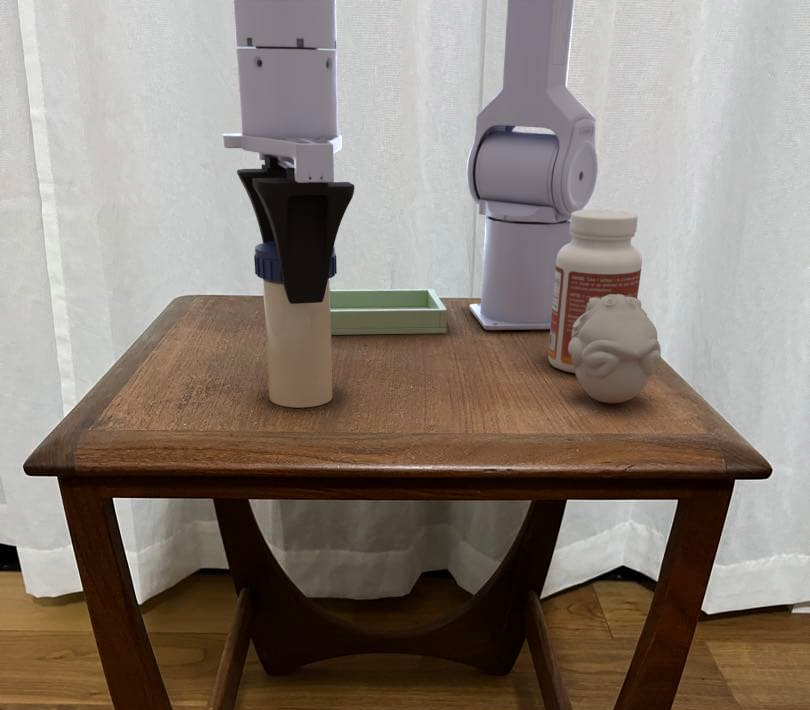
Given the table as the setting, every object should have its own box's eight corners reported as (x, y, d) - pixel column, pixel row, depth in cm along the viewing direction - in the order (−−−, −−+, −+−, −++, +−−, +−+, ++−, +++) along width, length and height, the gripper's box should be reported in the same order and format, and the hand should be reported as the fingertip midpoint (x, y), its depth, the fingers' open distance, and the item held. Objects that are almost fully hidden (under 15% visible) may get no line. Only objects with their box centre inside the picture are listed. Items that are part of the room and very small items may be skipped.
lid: (334, 266, 58) (334, 239, 58) (338, 282, 54) (338, 254, 53) (256, 266, 58) (255, 239, 57) (254, 283, 53) (252, 254, 53)
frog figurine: (629, 382, 64) (643, 285, 61) (671, 415, 58) (689, 309, 54) (549, 385, 63) (559, 286, 60) (583, 419, 57) (596, 311, 54)
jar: (331, 386, 62) (328, 248, 57) (334, 407, 58) (330, 261, 54) (270, 388, 61) (261, 249, 57) (268, 408, 58) (260, 261, 53)
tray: (432, 310, 82) (433, 288, 81) (446, 333, 75) (447, 310, 74) (291, 312, 81) (290, 290, 80) (291, 335, 74) (290, 311, 73)
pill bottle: (645, 369, 67) (668, 216, 61) (586, 382, 64) (605, 222, 58) (588, 350, 71) (604, 205, 66) (530, 361, 68) (543, 210, 63)
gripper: (203, 50, 55) (221, 271, 61) (231, 45, 43) (250, 322, 49) (314, 53, 57) (320, 267, 63) (371, 49, 45) (371, 315, 51)
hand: (296, 291), depth 56 cm, fingers open, 5 cm apart
